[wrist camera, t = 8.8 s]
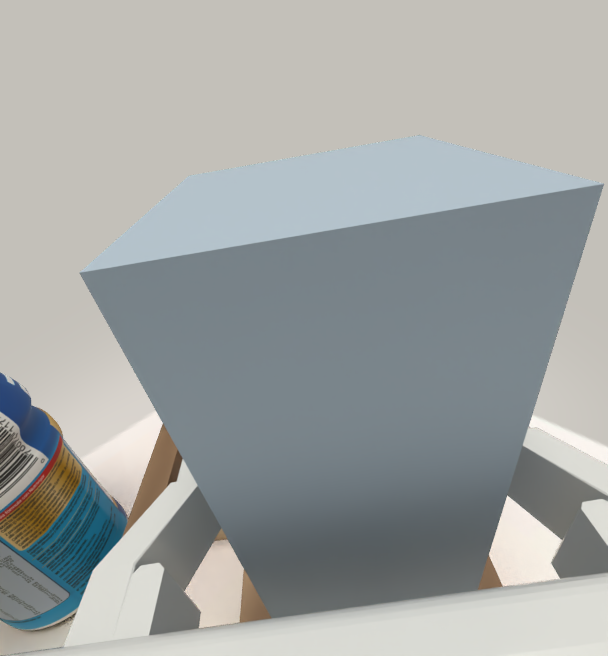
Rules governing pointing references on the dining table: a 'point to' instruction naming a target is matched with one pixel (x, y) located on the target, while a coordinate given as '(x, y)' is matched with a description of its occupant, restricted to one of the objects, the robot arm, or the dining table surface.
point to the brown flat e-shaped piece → (252, 608)
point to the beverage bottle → (46, 516)
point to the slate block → (351, 354)
